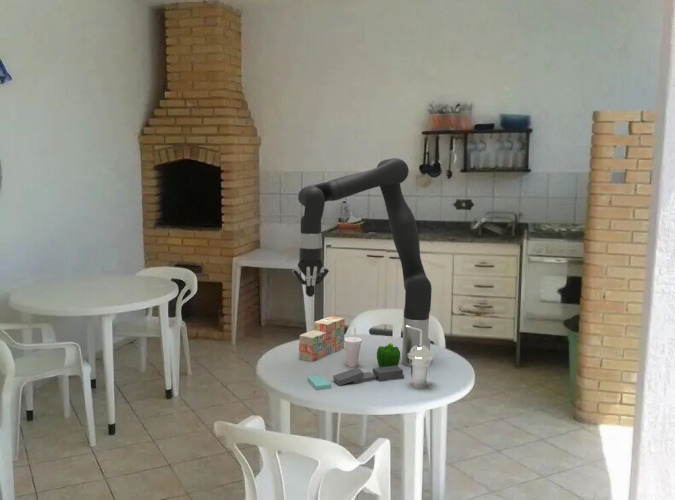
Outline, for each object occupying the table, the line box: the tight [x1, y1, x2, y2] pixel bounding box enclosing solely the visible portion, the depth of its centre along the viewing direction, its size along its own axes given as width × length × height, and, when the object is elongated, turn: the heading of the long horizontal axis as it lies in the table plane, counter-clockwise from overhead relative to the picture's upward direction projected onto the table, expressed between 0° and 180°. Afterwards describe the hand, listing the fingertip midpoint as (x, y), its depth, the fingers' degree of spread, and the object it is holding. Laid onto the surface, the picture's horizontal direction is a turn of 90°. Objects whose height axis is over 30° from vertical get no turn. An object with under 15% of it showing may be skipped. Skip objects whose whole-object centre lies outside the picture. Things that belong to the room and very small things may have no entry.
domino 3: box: [351, 371, 378, 385], centre depth 217 cm, size 2×5×9 cm
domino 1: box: [307, 374, 332, 391], centre depth 212 cm, size 2×5×9 cm
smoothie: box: [344, 327, 363, 368], centre depth 230 cm, size 6×6×14 cm
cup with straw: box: [406, 325, 434, 389], centre depth 211 cm, size 8×9×20 cm
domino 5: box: [377, 374, 405, 382], centre depth 220 cm, size 2×5×9 cm
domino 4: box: [372, 365, 404, 378], centre depth 219 cm, size 2×5×9 cm
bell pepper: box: [376, 342, 401, 368], centre depth 227 cm, size 8×8×10 cm
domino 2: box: [332, 366, 364, 387], centre depth 214 cm, size 2×5×9 cm
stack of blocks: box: [298, 315, 346, 363], centre depth 243 cm, size 21×6×12 cm, turn 147°
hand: (309, 296), depth 219 cm, fingers closed
